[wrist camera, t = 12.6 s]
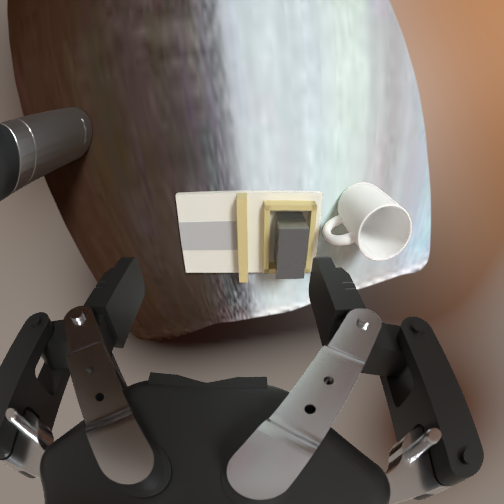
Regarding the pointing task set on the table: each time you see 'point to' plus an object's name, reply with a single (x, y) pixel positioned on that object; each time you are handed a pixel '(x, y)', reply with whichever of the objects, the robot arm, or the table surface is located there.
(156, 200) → the table surface
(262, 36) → the table surface
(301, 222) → the block
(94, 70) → the table surface
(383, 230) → the mug
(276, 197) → the white fixture board
